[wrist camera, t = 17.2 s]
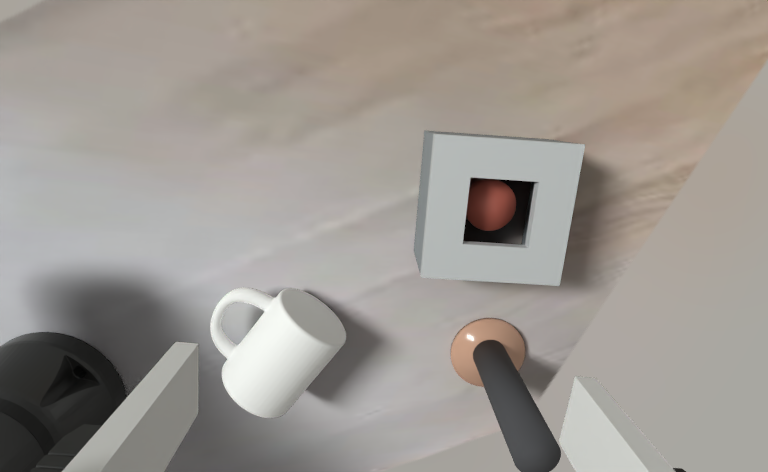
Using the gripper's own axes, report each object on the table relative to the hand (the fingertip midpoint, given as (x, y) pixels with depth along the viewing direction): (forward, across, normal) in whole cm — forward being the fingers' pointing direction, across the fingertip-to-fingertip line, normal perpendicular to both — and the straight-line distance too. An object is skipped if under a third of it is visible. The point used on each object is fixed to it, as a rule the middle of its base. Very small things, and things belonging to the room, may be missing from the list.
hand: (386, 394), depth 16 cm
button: (+29, +10, +3) cm, 30 cm away
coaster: (+30, +14, -14) cm, 36 cm away
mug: (+31, -10, -13) cm, 35 cm away
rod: (+30, +14, -14) cm, 36 cm away
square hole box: (+30, +10, +3) cm, 32 cm away
